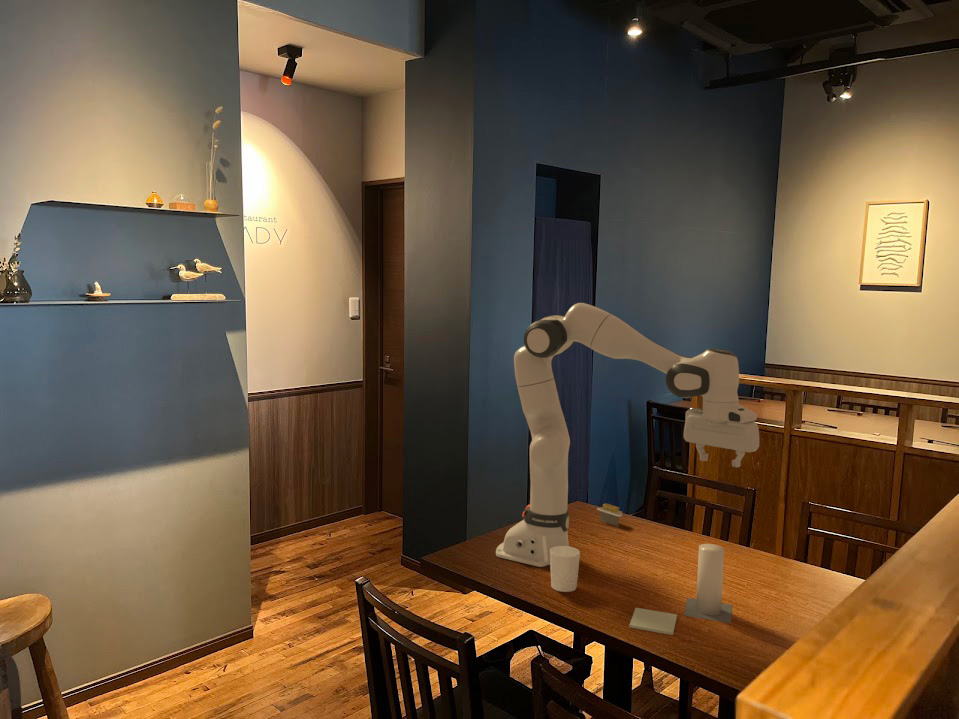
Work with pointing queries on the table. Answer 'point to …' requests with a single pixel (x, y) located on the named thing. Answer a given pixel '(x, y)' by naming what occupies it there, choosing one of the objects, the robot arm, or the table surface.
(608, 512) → the platform
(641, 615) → the coaster pad
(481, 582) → the table surface
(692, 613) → the mat
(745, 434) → the robot arm
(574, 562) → the white cup
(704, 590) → the ceramic canister
